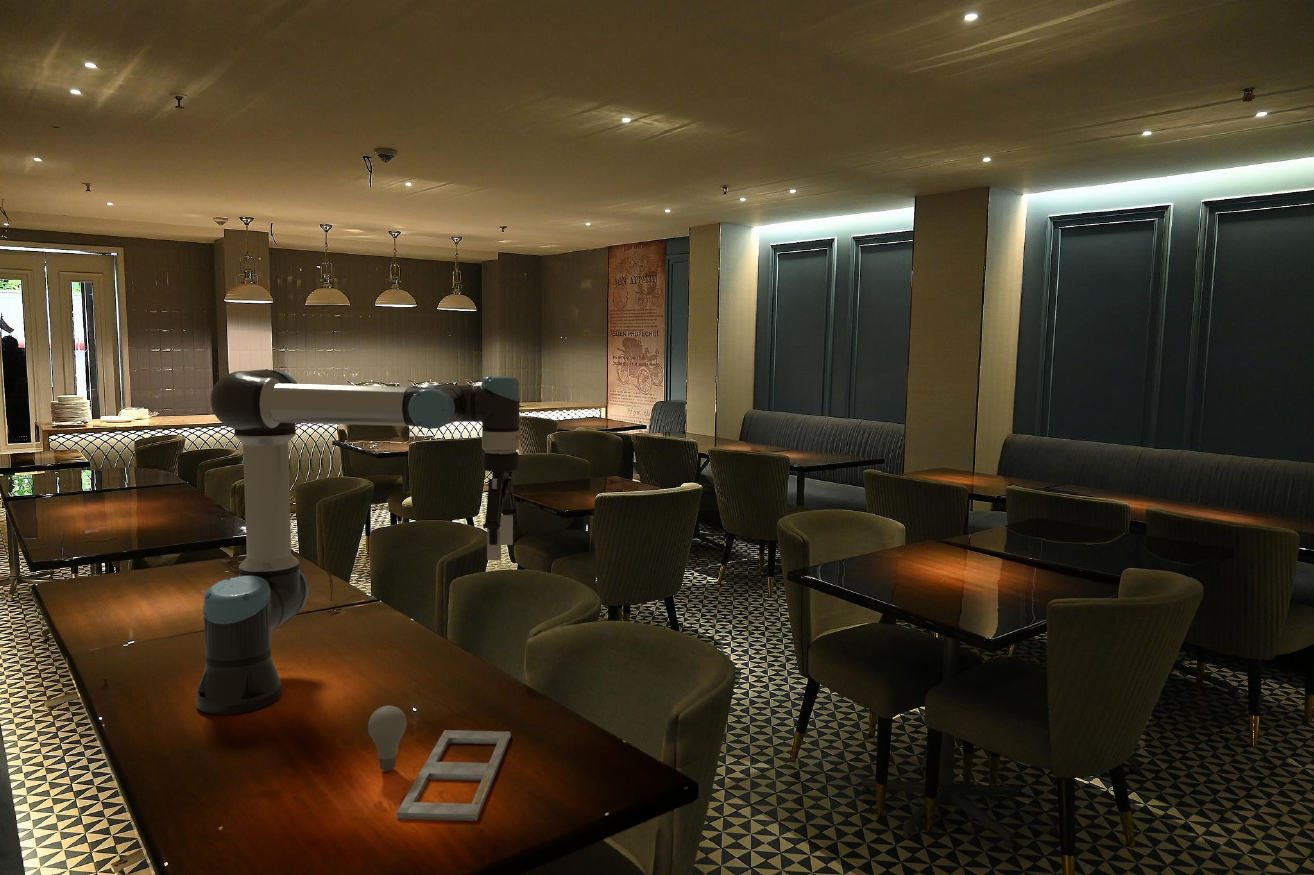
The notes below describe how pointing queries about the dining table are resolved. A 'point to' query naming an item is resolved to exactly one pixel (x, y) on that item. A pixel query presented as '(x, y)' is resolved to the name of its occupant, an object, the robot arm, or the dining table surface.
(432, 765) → the grey window frame
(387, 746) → the lightbulb
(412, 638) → the dining table surface
